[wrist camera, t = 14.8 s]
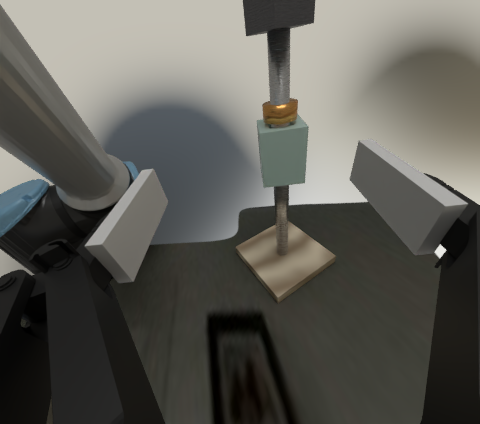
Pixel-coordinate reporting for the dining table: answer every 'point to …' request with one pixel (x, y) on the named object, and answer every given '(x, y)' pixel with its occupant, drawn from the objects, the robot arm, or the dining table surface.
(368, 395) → the dining table surface
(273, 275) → the stand base
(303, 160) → the sleeve
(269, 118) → the post
